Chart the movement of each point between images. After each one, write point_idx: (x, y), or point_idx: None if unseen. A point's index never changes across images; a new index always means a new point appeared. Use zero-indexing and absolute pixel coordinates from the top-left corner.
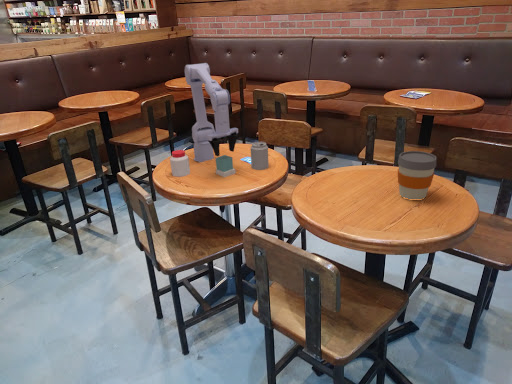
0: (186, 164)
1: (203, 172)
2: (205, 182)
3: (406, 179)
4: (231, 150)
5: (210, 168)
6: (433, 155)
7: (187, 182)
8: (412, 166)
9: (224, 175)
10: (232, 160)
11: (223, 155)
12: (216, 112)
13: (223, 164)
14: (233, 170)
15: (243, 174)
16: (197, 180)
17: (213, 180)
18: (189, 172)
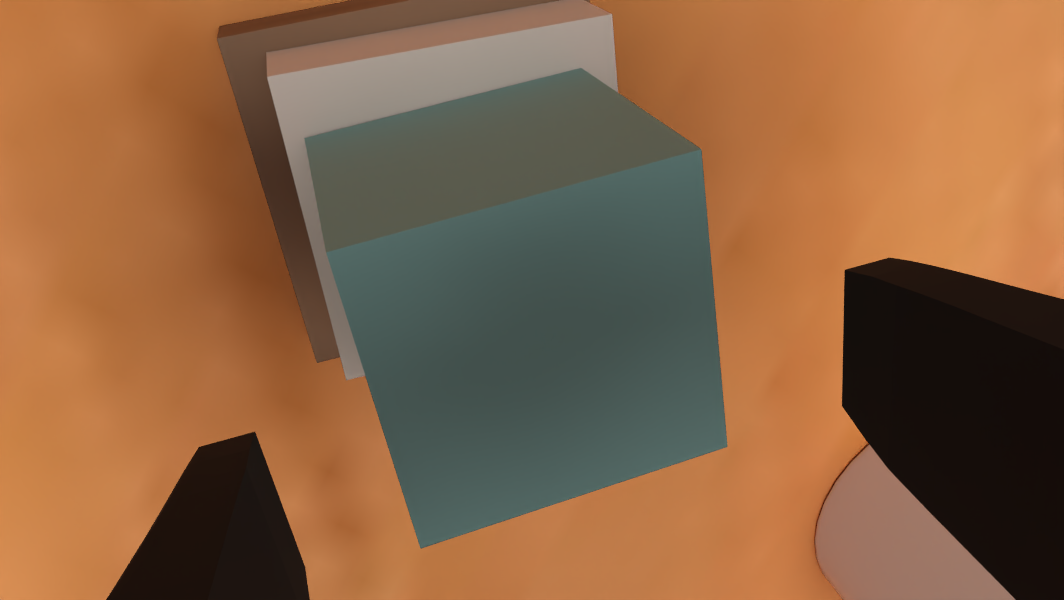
0: None
1: (650, 496)
2: (850, 107)
3: None
4: (275, 503)
5: (489, 592)
6: None
7: (1010, 263)
8: None
9: (583, 3)
10: (320, 210)
11: (469, 522)
12: None
13: (646, 119)
14: (328, 63)
15: (60, 33)
16: (881, 256)
17: (712, 109)
18: (897, 486)
